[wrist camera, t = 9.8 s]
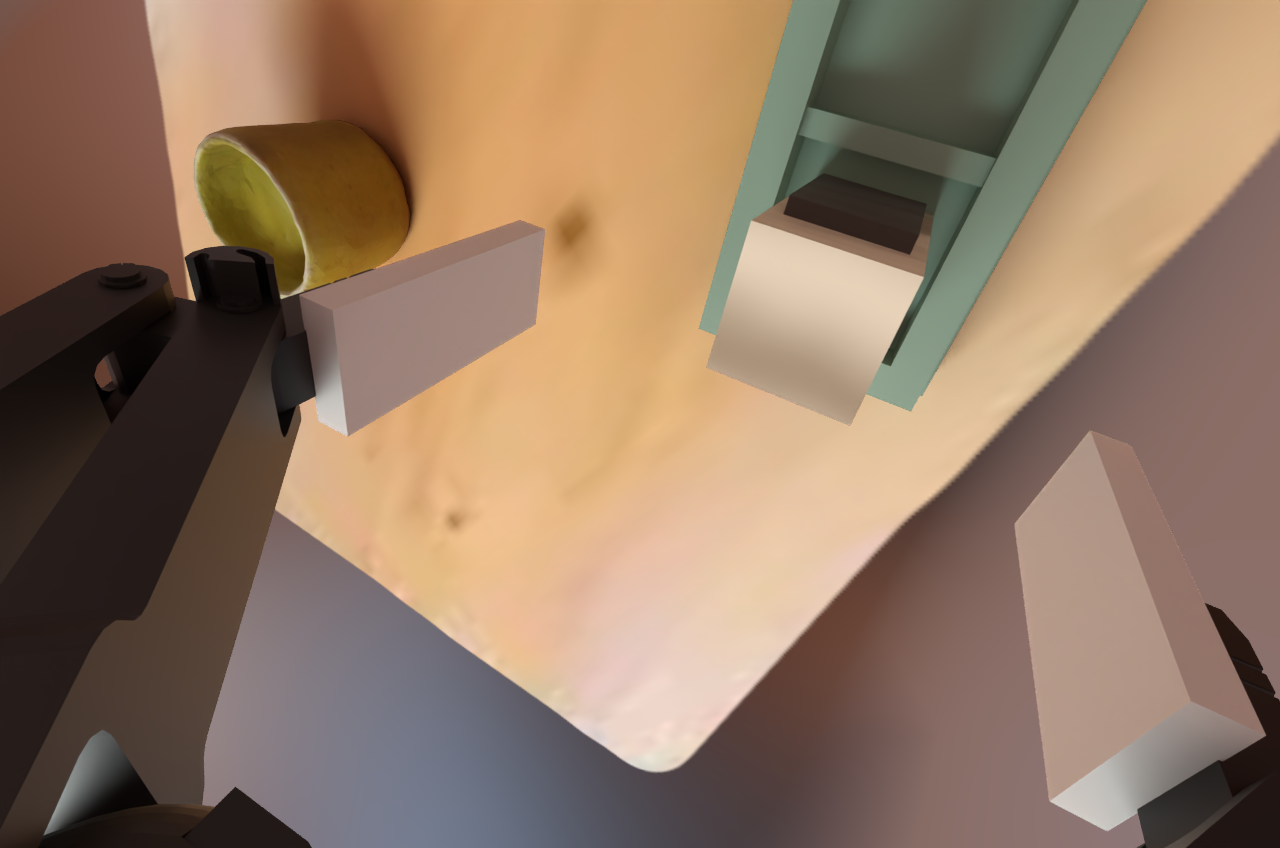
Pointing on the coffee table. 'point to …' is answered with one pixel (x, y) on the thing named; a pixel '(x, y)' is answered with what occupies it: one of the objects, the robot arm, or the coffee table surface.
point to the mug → (303, 198)
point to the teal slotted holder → (926, 135)
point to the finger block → (822, 293)
